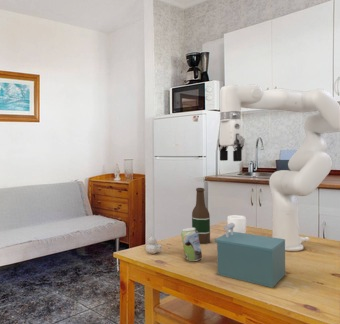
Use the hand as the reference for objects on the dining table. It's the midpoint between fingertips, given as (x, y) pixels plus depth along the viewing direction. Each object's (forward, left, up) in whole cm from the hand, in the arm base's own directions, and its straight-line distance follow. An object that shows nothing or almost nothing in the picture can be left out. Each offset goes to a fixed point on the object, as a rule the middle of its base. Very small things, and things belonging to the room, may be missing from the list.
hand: (230, 160), depth 134 cm
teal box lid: (+8, +23, -26) cm, 35 cm away
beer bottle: (+4, -17, -37) cm, 40 cm away
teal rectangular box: (+7, +23, -36) cm, 44 cm away
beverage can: (+19, +5, -37) cm, 42 cm away
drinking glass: (0, +4, -37) cm, 37 cm away
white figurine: (+30, -6, -37) cm, 48 cm away
